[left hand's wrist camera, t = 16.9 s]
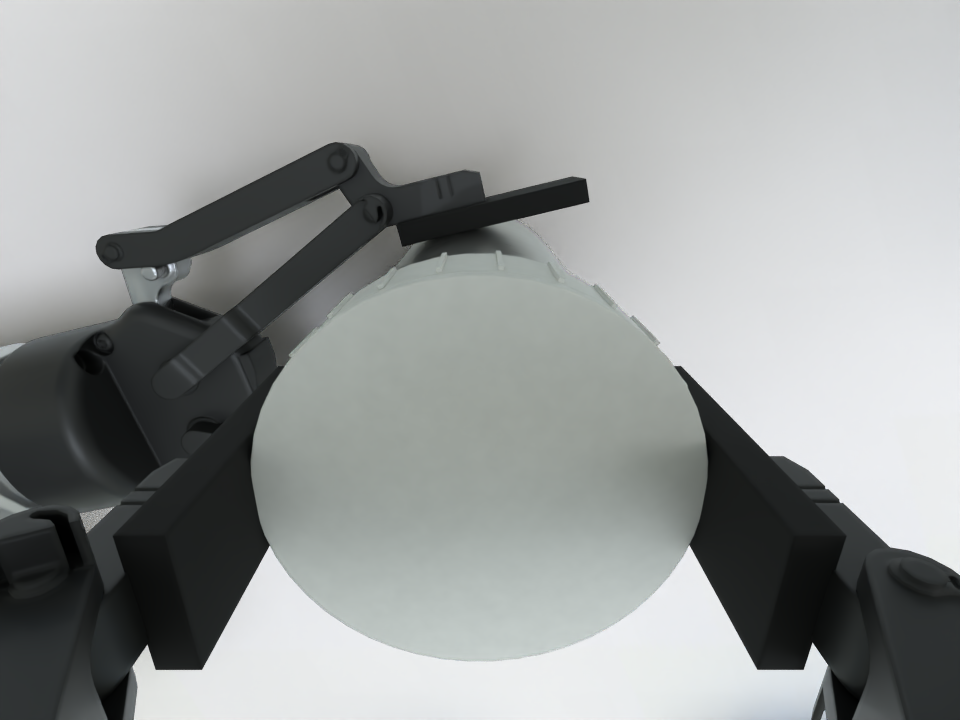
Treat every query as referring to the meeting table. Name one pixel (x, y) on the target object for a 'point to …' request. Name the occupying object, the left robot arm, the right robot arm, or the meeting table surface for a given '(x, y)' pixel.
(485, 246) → the jar
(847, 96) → the meeting table surface
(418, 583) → the lid
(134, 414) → the right robot arm
